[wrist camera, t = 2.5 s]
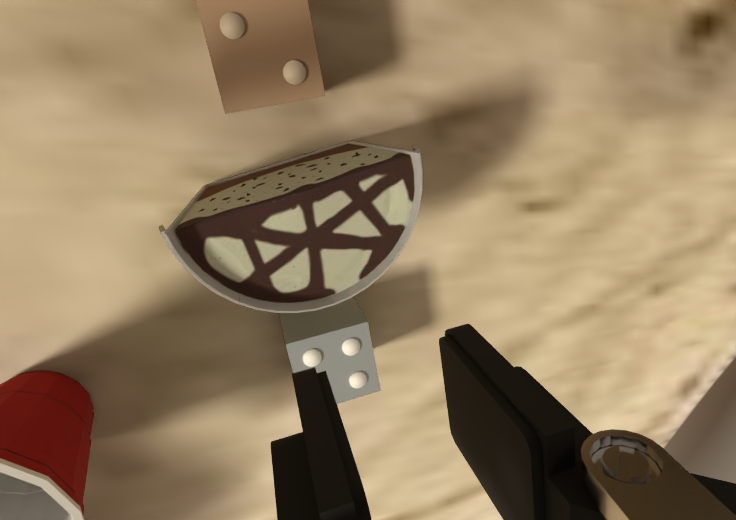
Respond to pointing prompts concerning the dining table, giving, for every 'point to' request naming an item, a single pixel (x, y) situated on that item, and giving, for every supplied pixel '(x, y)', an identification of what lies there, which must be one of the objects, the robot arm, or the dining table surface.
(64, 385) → the plastic cup
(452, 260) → the dining table surface
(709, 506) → the robot arm
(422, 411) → the dining table surface
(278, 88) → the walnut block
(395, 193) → the food container
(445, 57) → the dining table surface
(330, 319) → the slate-grey block
